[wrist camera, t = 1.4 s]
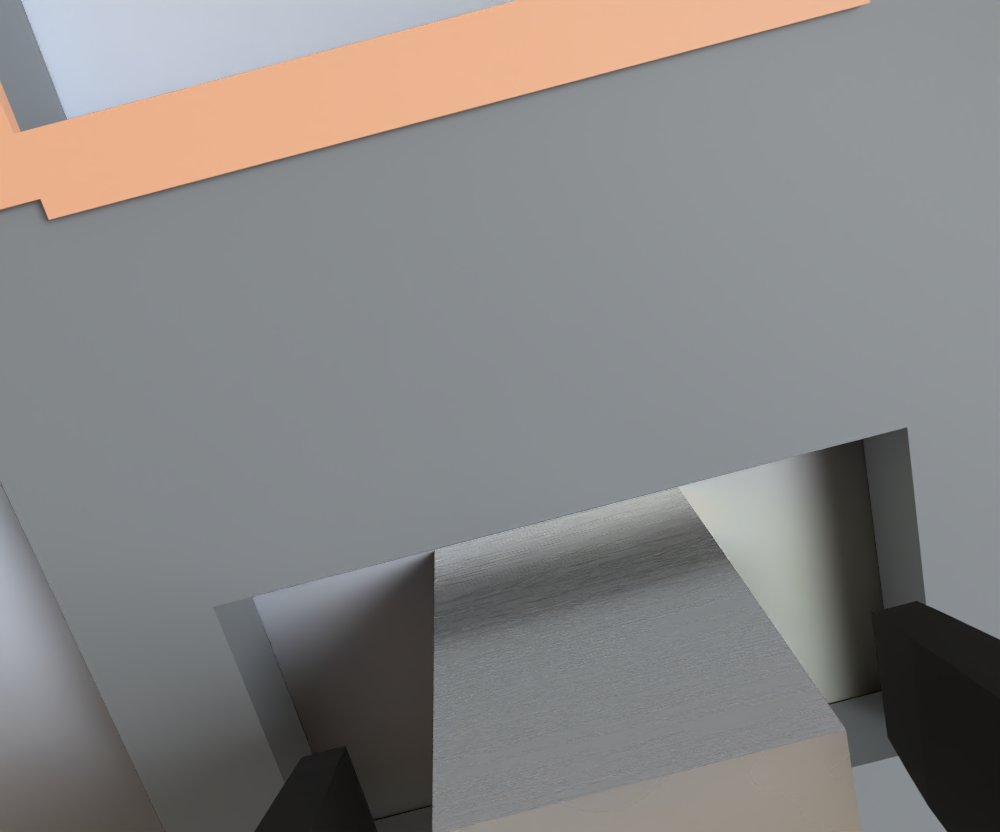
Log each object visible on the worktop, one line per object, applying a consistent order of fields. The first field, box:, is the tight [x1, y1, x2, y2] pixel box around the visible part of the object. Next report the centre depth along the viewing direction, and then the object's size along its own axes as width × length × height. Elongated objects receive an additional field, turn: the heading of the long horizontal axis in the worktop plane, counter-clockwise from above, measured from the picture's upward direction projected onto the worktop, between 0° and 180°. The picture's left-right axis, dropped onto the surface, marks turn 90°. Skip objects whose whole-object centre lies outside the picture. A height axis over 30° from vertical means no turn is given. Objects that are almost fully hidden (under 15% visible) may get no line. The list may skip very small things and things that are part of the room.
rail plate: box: [0, 0, 1000, 832], centre depth 12 cm, size 14×26×2 cm, turn 14°
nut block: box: [432, 488, 861, 832], centre depth 12 cm, size 4×4×6 cm
